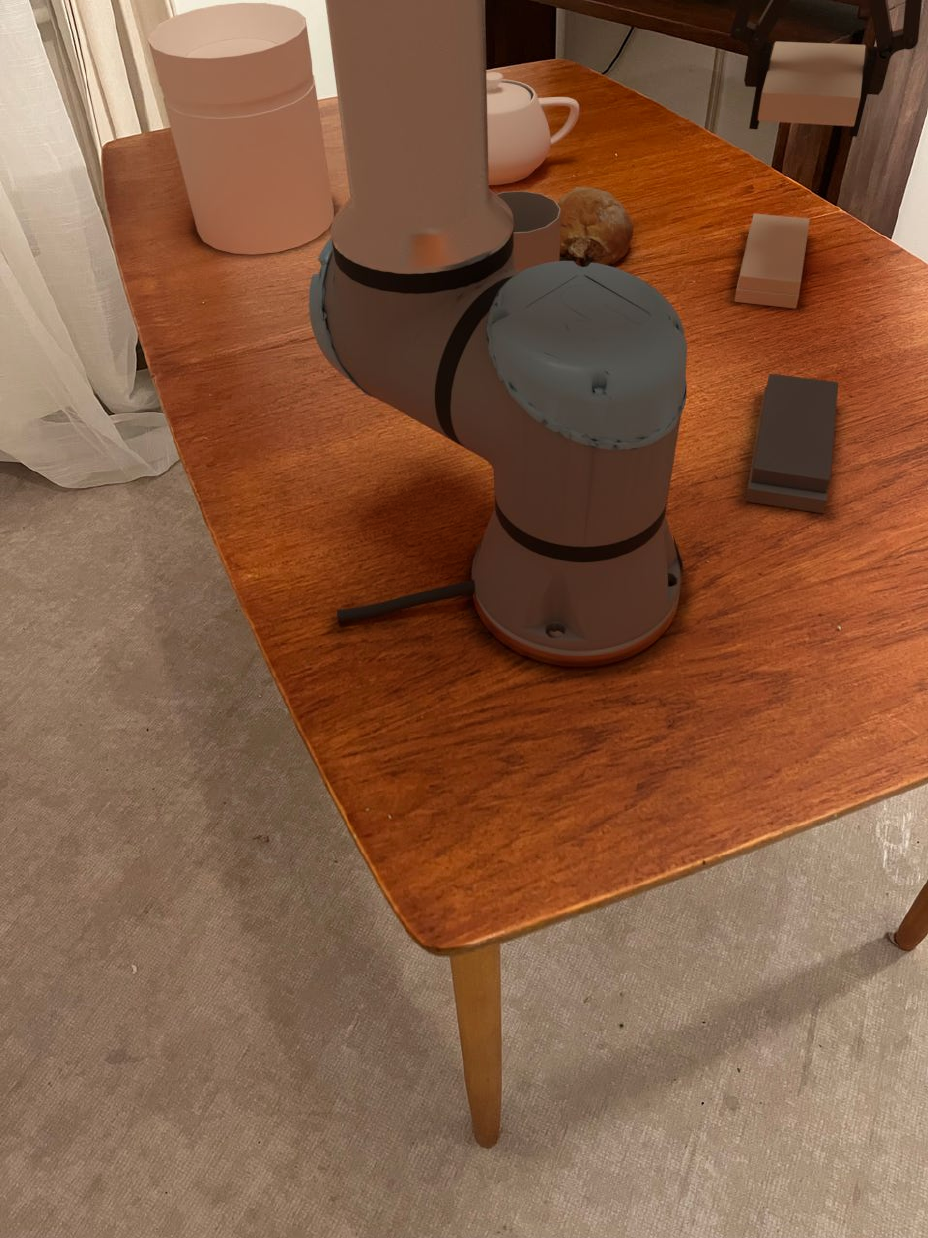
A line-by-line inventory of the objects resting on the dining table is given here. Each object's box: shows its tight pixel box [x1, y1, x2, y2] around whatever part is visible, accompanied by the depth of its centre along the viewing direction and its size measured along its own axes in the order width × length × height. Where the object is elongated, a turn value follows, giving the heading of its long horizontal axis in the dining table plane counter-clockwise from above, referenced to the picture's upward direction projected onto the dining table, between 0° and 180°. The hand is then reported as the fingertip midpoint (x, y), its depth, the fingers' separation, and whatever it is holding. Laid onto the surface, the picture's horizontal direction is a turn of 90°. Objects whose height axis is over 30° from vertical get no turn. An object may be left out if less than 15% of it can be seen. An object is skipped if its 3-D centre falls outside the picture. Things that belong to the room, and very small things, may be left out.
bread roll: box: [556, 186, 634, 267], centre depth 105 cm, size 10×10×8 cm
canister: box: [147, 2, 335, 256], centre depth 107 cm, size 16×16×20 cm
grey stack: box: [745, 373, 839, 514], centre depth 81 cm, size 14×6×3 cm, turn 163°
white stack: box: [734, 212, 811, 309], centre depth 101 cm, size 14×6×3 cm, turn 163°
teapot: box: [486, 71, 580, 186], centre depth 116 cm, size 22×14×11 cm, turn 95°
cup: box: [495, 190, 561, 272], centre depth 96 cm, size 8×8×10 cm
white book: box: [758, 41, 867, 127], centre depth 87 cm, size 12×8×2 cm, turn 163°
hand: (803, 126), depth 90 cm, fingers closed on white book, 8 cm apart
